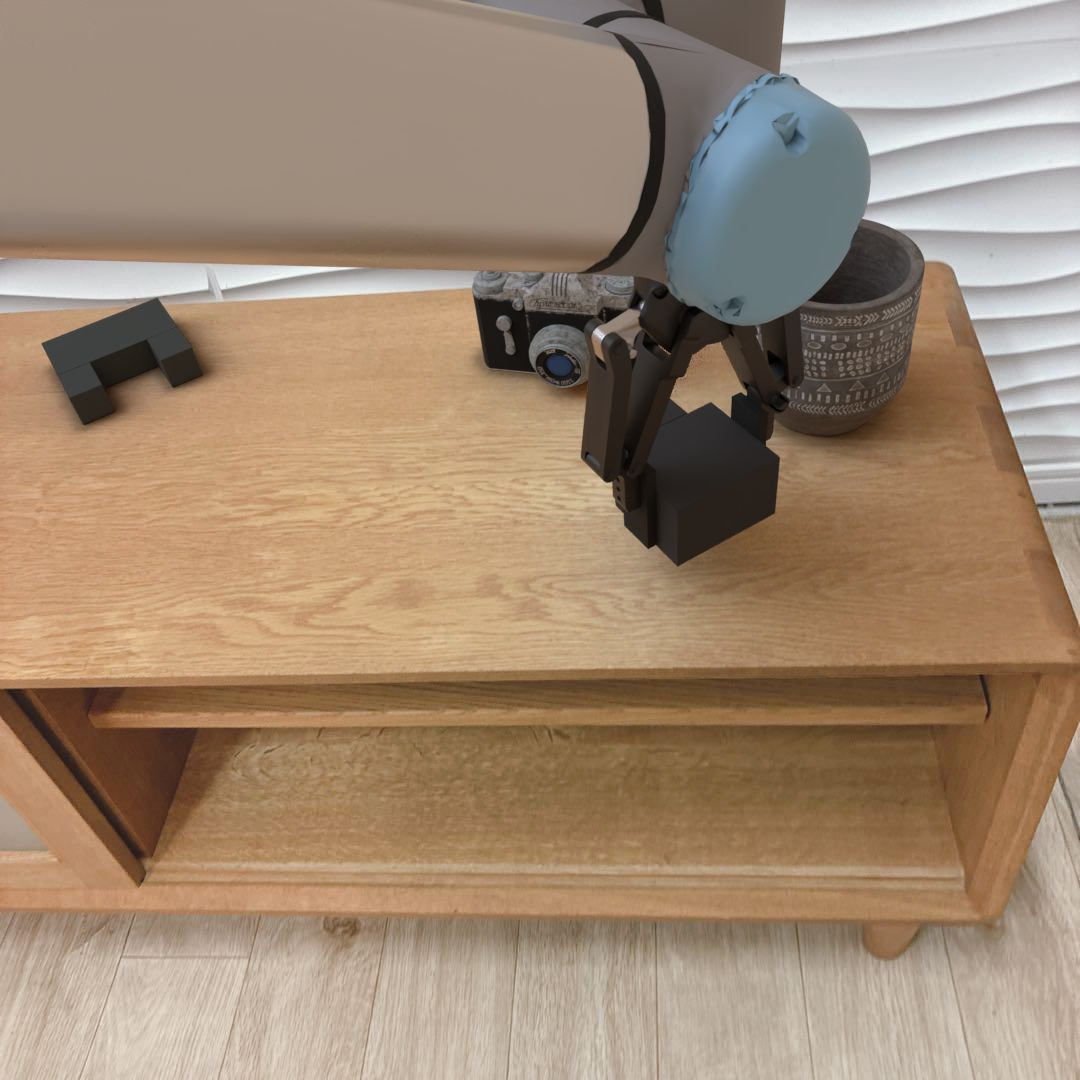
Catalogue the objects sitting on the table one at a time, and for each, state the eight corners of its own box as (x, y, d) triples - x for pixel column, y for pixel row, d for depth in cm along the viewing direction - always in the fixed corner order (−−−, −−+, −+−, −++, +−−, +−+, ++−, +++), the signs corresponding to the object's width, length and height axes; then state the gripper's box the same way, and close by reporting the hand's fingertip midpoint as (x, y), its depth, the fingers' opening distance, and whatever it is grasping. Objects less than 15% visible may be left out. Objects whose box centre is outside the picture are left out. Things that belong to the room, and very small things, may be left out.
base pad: (83, 425, 93) (68, 398, 90) (55, 369, 99) (40, 343, 97) (203, 374, 96) (192, 347, 94) (168, 323, 102) (157, 297, 100)
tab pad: (677, 567, 68) (677, 511, 65) (585, 476, 75) (581, 421, 72) (775, 513, 71) (780, 457, 67) (678, 430, 78) (678, 375, 74)
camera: (467, 391, 90) (447, 289, 83) (490, 343, 95) (474, 242, 88) (640, 408, 87) (635, 303, 79) (656, 357, 91) (653, 253, 84)
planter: (847, 339, 90) (865, 199, 81) (932, 424, 82) (963, 279, 73) (715, 381, 88) (717, 242, 79) (789, 472, 80) (801, 330, 71)
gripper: (804, 105, 61) (778, 415, 77) (488, 232, 55) (532, 542, 71) (901, 151, 56) (852, 471, 73) (568, 297, 50) (595, 612, 66)
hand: (694, 506), depth 72 cm, fingers closed on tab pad, 8 cm apart
